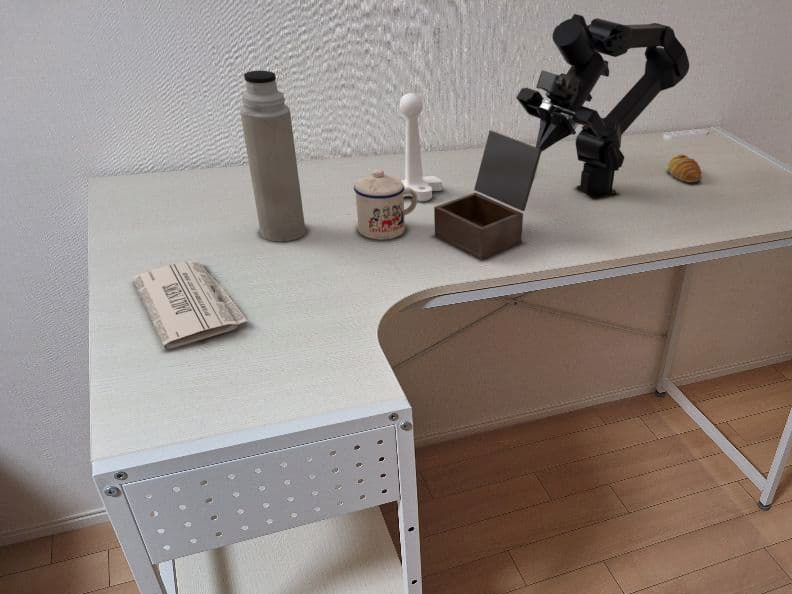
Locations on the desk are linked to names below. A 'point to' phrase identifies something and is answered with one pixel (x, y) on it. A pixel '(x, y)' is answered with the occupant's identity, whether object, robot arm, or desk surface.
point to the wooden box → (478, 225)
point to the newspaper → (186, 303)
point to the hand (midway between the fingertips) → (537, 150)
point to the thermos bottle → (272, 158)
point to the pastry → (684, 168)
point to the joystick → (415, 152)
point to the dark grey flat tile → (507, 170)
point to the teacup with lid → (381, 205)
